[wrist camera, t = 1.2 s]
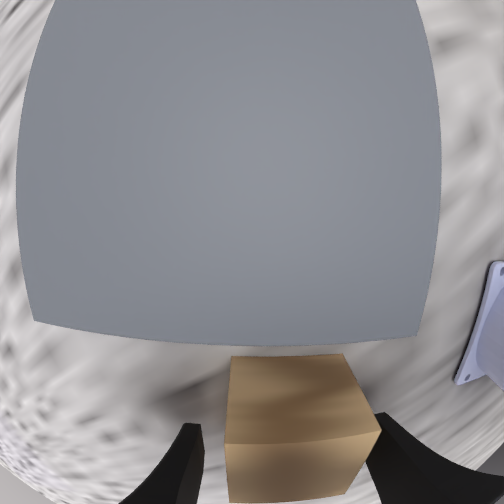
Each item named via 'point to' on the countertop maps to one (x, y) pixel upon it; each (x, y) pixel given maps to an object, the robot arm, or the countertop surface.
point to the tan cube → (295, 428)
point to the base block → (230, 170)
